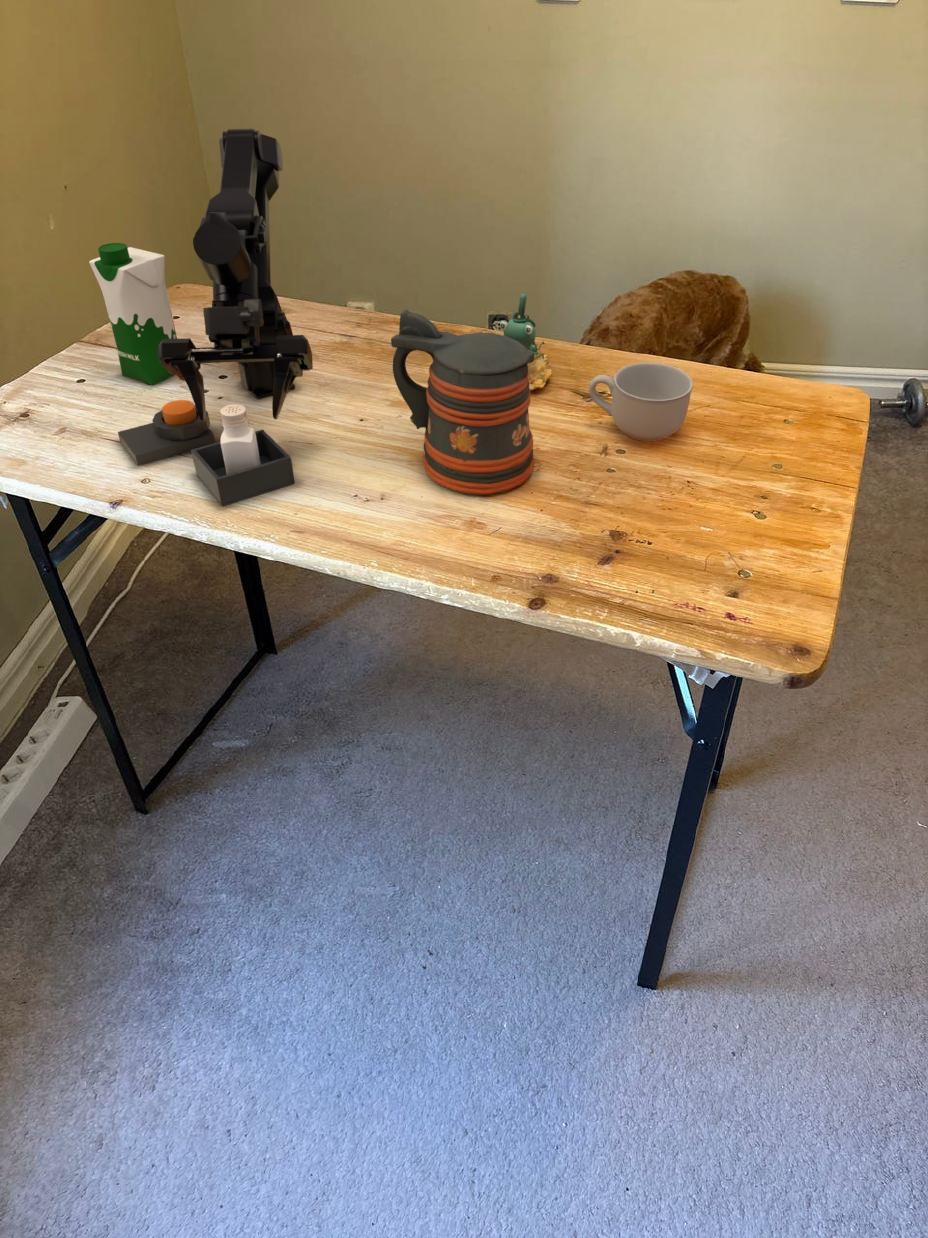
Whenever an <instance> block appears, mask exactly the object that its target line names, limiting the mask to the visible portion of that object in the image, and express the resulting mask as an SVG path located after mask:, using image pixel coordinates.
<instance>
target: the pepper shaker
mask: <svg viewBox="0 0 928 1238" xmlns="http://www.w3.org/2000/svg"><path fill="white" fill-rule="evenodd" d="M219 413H220V418H221V425H222V427H223V430H222V433H221V436H220V441H219V442H220V443H221V448H222V453H223V458H224V463H225V468H226V473H227V474H231V473H234V472H237V471H241V470H244V469H247V468H251V467H254V466H257V465H261V463H260V457H259V451H258V445H257V439H256V433H255V432H256V429H254V428H253V427H251V426H249V419H248V412H247V408H246V406H245V405H243V404H236V403H233V404H228V405H225V406H223V407H222V408H221V409H220V410H219Z"/></svg>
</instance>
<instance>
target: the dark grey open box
mask: <svg viewBox="0 0 928 1238" xmlns="http://www.w3.org/2000/svg"><path fill="white" fill-rule="evenodd" d="M255 433H256V439H257V445H258V451H259V457H260V463H261V465H257V466H254V467H251V468H247V469H244V470H241V471H237V472H234V473H231V474H227V473H226V468H225V463H224V458H223V453H222V448H221V443H220V441H217V442H215V443H214V444H210V445H207V446H203V447H200V448H196V449H193V450H191V451H190V453H191V456H192V460H193V465H194V469H195V473H196V477H197V479H198V480H199V481H200V482H201V483H202V484H203V485H204V487H205V488H206V489H207V491H208V492H209V493H210V494H211V496H212V497H213V498H214V500H215V501H216V502H218V504H219V505H220V507H222V508H223V507H226V506H229V505H233V504H236V503H239V502H241V501H245V500H248V499H252V498H255V497H257V496H261V495H264V494H267V493H271V492H274V491H277V490H280V489H283V488H285V487H290V486H294V485H295V484H296V482H295V475H294V469H293V462H292V456H290V455H289V454H288V453H287V452H286V451H285V449H283V448H282V447H281V445H279V444H278V443H277V441H275V439H273V438H272V437H271V436H270V435H269V434H268V432H266V431H265V430H264V429H260V430H255Z"/></svg>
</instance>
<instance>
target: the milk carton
mask: <svg viewBox="0 0 928 1238" xmlns="http://www.w3.org/2000/svg"><path fill="white" fill-rule="evenodd" d="M97 250H98V255H99V257H96V258H93V259H91V260H89V262H88V263H89V265H90V268H91V270H92V272H93V274H94V277H95V278H96V280H97V283H98V285H99V287H100V290H101V292H102V295H103V296H102V297H103V300H104V304H105V307H106V308H105V309H106V312H107V316H108V319H109V322H110V327H111V330H112V334H113V338H114V342H115V345H116V350H117V355H118V360H119V365H120V372H121V376H122V377H125V378H128V379H130V380H134V381H138V382H140V383H144V384H146V385H149V386H154V385H157V384H159V383H161V382H163V381H165V380H167V379H169V378H171V377H174V376H175V375H174V374H170V373H169V372H168V371H167V369H166V368H165V367H164V366H163V364H162V363H161V362H160V361H159V359H158V346H159V344H160V343H161V342H162V340H163V339H178V336H177V332H176V331H177V330H176V328H175V323H174V319H173V318H174V317H173V314H172V310H171V305H170V300H169V295H168V290H167V286H166V278H165V275H166V274H165V273H166V271H165V269H166V267H165V263H166V262H165V260H166V259H165V256H166V255H165V254H161V253H158V252H154V251H153V252H152V251H148V250H144V249H140V248H136V247H132V246H129V247H128V246H127V244H125V243H122V242H111V243H110V242H109V243H105V244H102V245H100V246H99V247H98V248H97Z"/></svg>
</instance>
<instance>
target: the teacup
mask: <svg viewBox="0 0 928 1238" xmlns="http://www.w3.org/2000/svg"><path fill="white" fill-rule="evenodd" d="M599 384H604V385H606V386H607V387H608V389H609V394H610V396H611V402H609V401H608V400H605V399H604V398H602V397H601V396H600V395H599V394H598V392H597V390H596V388H597V386H598V385H599ZM693 389H694V381H693V379H692V377H691V375H689V374H688V373H687V372H686V371H684V370H682V369H681V368H678V367H676V366H674V365H670V364H668V363H667V364H666V363H663V362H653V361H651V362H650V361H649V362H647V361H644V362H643V361H642V362H635V363H632V364H631V363H630V364H628V365H624V366H622V367H621V368H620V369H618V370H617V371H616V373H615V374H614V377H613V378H612V377H611V376H610V375H607V374H598V375H595V376H594V377H593V378H592V379H591V380H590V382H589V384H588V395H589V397H590V399H591V400H592V402H593V403H594V404H596V405H597V406H598V407H600V408H601V409H603V411H606V414H607V415H608V416H609V417H612V421H613V422H614V424H615V426H616V427H617V428H618V429H619V430H621V431H622V433H624V434H625V435H626V436H628V437H629V438H632V439H634V440H637V441H642V442H657V441H660V440H663V439H666V438H667V437H669V436H672V435H673V434H675V433H676V432H678V431H679V430H680V429H681V427H682V426H683V425H684V423H685V421H686V417H687V414H688V410H689V406H690V401H691V394H692V391H693Z"/></svg>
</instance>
